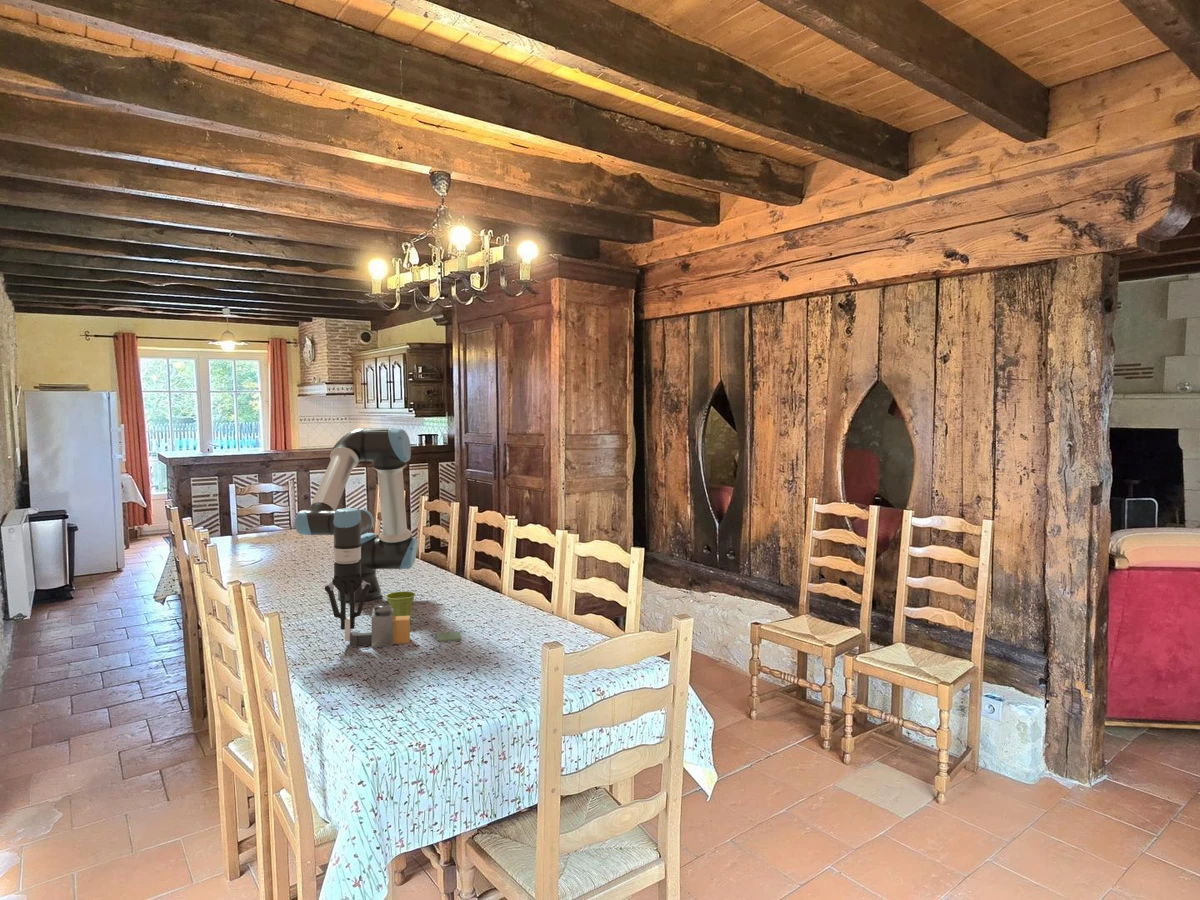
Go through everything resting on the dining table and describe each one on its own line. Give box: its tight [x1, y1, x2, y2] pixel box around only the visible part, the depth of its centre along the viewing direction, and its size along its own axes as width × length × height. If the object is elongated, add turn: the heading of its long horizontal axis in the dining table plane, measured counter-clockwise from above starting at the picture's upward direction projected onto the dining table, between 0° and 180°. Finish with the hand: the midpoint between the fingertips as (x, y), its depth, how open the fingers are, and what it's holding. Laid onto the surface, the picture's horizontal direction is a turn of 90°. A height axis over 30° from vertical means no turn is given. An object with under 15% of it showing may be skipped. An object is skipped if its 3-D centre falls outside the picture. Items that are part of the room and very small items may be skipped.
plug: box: [349, 616, 411, 647], centre depth 212 cm, size 4×17×7 cm, turn 105°
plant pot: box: [385, 591, 416, 620], centre depth 234 cm, size 9×9×9 cm
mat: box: [436, 631, 462, 643], centre depth 218 cm, size 7×7×1 cm
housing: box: [371, 603, 394, 648], centre depth 212 cm, size 9×6×11 cm
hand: (347, 639), depth 210 cm, fingers closed
